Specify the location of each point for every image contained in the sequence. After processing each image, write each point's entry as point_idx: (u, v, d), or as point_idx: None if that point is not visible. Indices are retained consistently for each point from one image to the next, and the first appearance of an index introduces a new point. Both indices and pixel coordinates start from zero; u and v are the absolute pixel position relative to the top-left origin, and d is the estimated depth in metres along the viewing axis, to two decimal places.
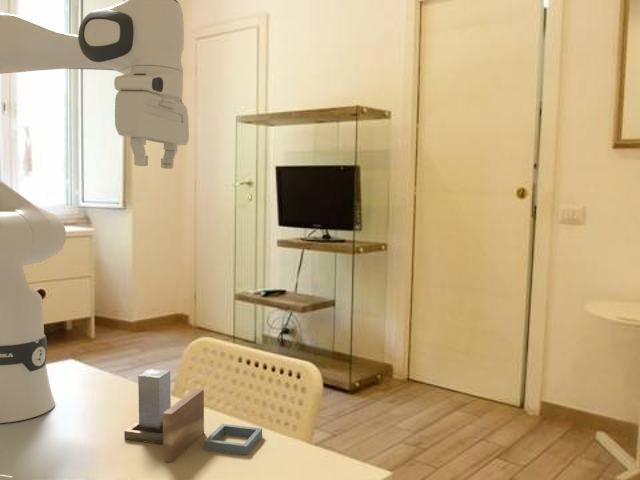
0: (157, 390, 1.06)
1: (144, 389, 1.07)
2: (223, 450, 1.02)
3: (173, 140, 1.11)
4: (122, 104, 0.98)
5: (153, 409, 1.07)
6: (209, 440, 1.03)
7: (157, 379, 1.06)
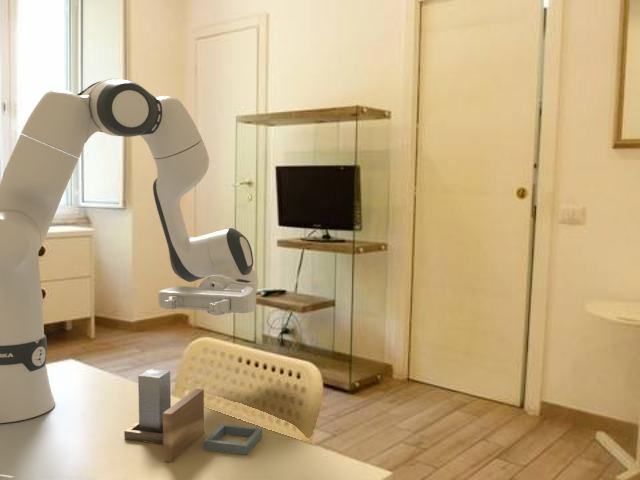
0: (157, 390, 1.06)
1: (144, 389, 1.07)
2: (223, 450, 1.02)
3: None
4: (253, 296, 1.28)
5: (153, 409, 1.07)
6: (209, 440, 1.03)
7: (157, 379, 1.06)
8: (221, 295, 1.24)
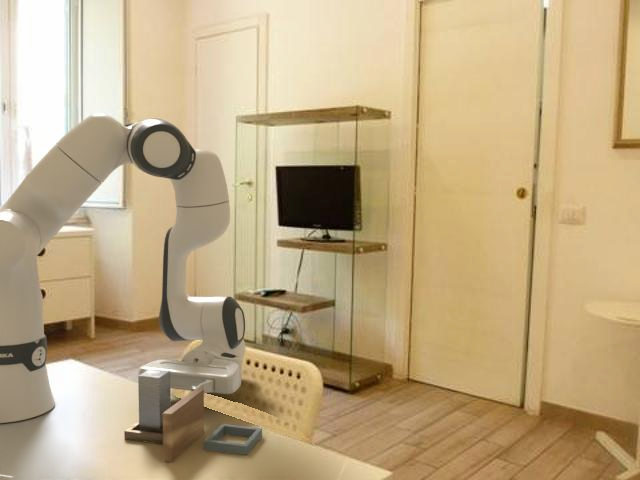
0: (157, 390, 1.06)
1: (144, 389, 1.07)
2: (223, 450, 1.02)
3: None
4: (238, 374, 1.22)
5: (153, 409, 1.07)
6: (209, 440, 1.03)
7: (157, 379, 1.06)
8: (204, 375, 1.18)
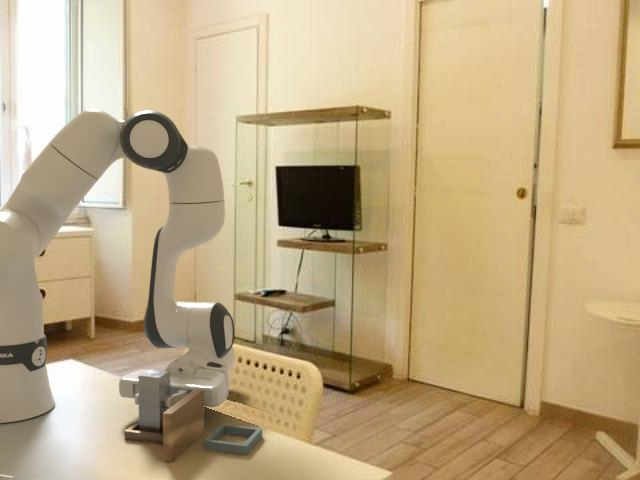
0: (157, 390, 1.06)
1: (144, 389, 1.07)
2: (223, 450, 1.02)
3: None
4: (224, 385, 1.15)
5: (153, 409, 1.07)
6: (209, 440, 1.03)
7: (157, 379, 1.06)
8: (188, 386, 1.11)
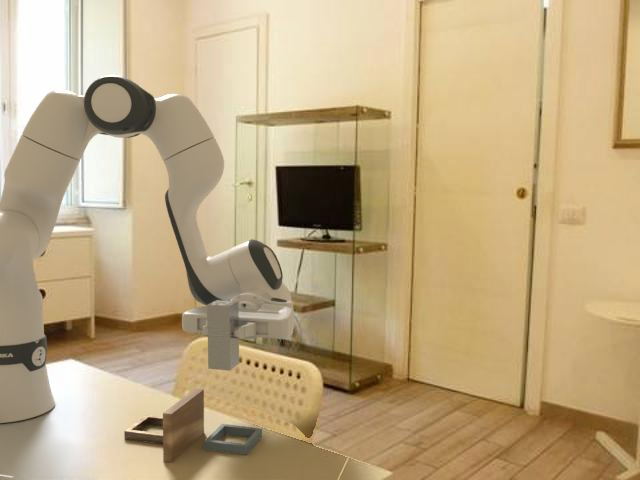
0: (228, 319, 1.02)
1: (213, 318, 1.03)
2: (223, 450, 1.02)
3: None
4: (292, 319, 1.11)
5: (223, 339, 1.03)
6: (209, 440, 1.03)
7: (227, 308, 1.02)
8: (256, 318, 1.07)
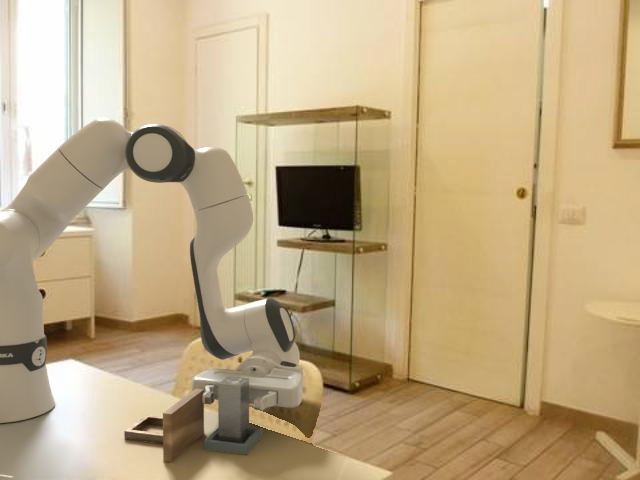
0: (239, 399, 1.03)
1: (224, 397, 1.03)
2: (223, 450, 1.02)
3: None
4: None
5: (233, 418, 1.03)
6: (209, 440, 1.03)
7: (238, 387, 1.02)
8: (266, 386, 1.08)
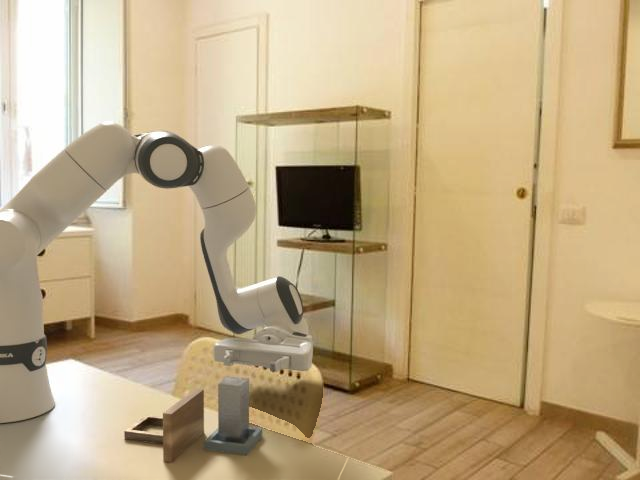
0: (239, 399, 1.03)
1: (224, 397, 1.03)
2: (223, 450, 1.02)
3: None
4: None
5: (233, 418, 1.03)
6: (209, 440, 1.03)
7: (238, 387, 1.02)
8: (280, 351, 1.20)
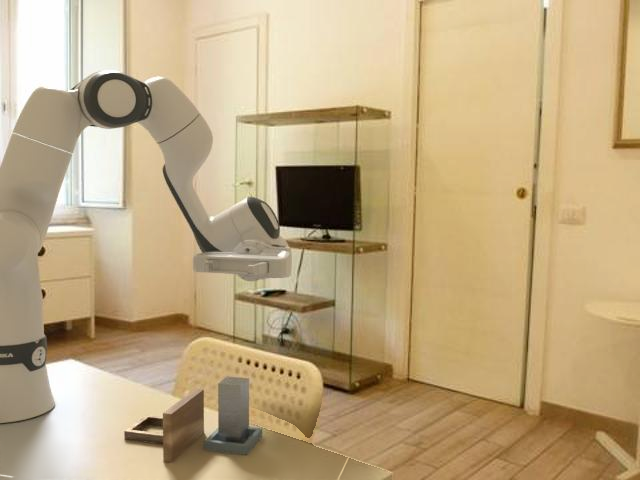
0: (239, 399, 1.03)
1: (224, 397, 1.03)
2: (223, 450, 1.02)
3: None
4: (290, 261, 1.25)
5: (233, 418, 1.03)
6: (209, 440, 1.03)
7: (238, 387, 1.02)
8: (258, 258, 1.22)
